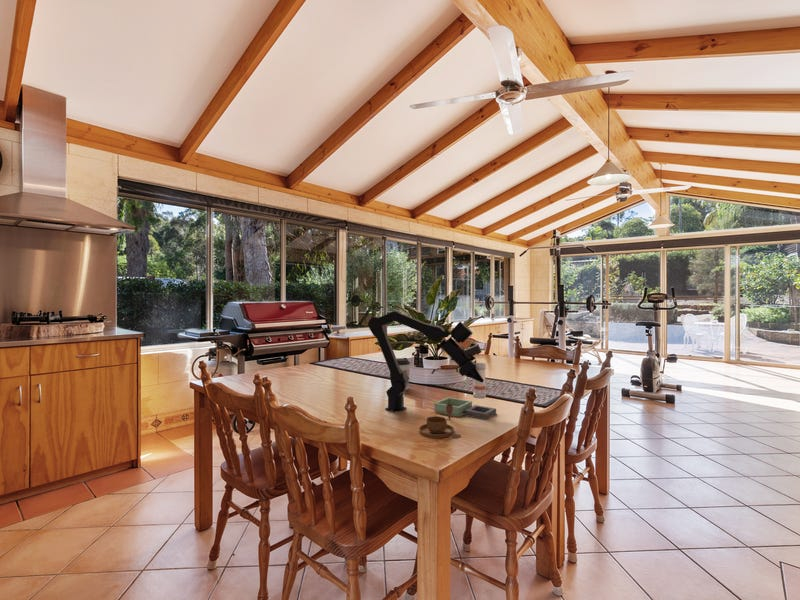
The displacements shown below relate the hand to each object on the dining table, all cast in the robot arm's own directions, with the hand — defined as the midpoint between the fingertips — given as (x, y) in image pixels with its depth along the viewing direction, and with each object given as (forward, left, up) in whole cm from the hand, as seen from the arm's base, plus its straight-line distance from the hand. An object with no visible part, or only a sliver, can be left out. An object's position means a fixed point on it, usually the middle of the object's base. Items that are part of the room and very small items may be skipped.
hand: (483, 380), depth 156 cm
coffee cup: (+16, +52, -14) cm, 56 cm away
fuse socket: (0, +1, -13) cm, 13 cm away
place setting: (-23, +3, -14) cm, 27 cm away
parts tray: (-2, +12, -13) cm, 18 cm away
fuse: (-1, +1, -7) cm, 7 cm away
